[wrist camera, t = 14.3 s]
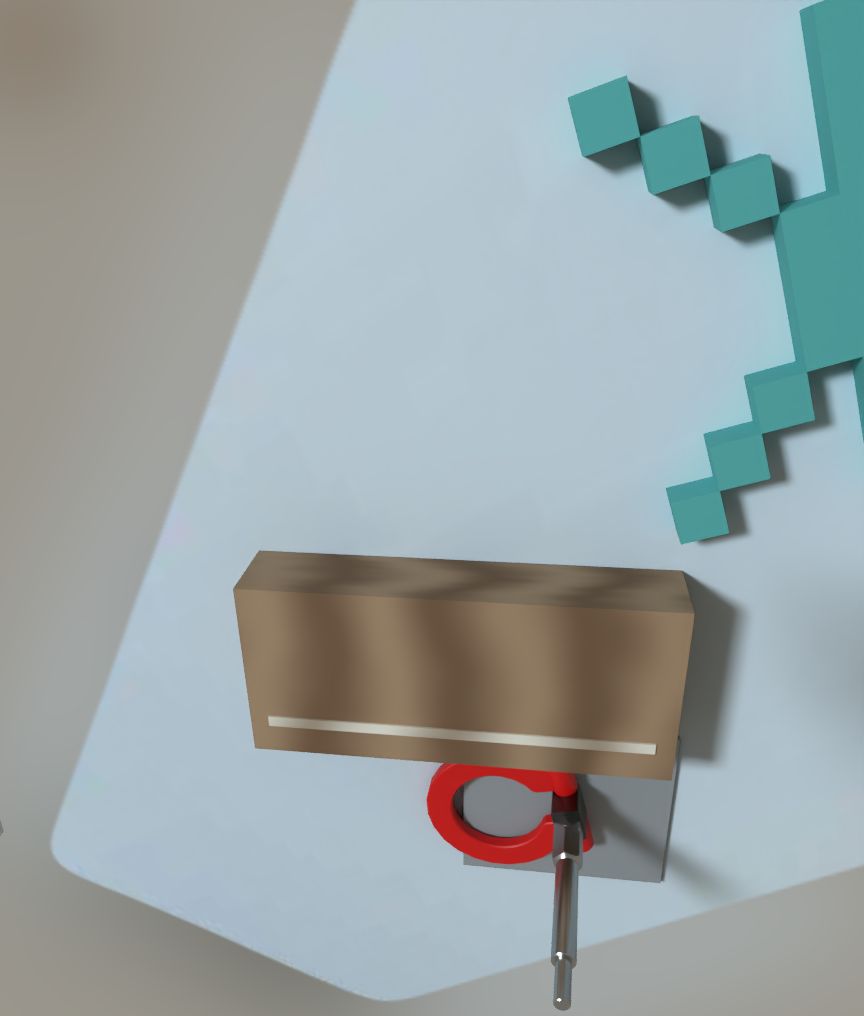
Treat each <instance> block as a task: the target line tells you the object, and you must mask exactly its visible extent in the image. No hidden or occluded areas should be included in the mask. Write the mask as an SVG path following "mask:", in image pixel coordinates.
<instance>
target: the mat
mask: <svg viewBox="0 0 864 1016" xmlns="http://www.w3.org/2000/svg"><path fill="white" fill-rule="evenodd" d="M679 747H680V737H678V739H677V747H676V754H675V761H674V768H673V775H672V781H667V780H655V779H642V778H629V777H616V776H604V775H591V774H578V773H574V774H575V777H576V781H577V782H578V784H579V785H580V789H581V792H582V796H583V799H584V803H585V806H586V810H587V819H588V823H589V826H590V830H591V833H592V837H593V840H594V845H593V847H592V848H591V849H590V850H589V851H587V852H584V853H583V867H582V869H581V870H579V873H578V875H579V876H590V877H600V878H611V879H622V880H632V881H643V882H654V883H660V882H661V875H662V868H663V861H664V854H665V846H666V839H667V832H668V825H669V818H670V811H671V804H672V797H673V790H674V783H675V776H676V769H677V762H678V755H679ZM551 804H552V791H551V792H540V793H536V792H532V791H531V790H530V789H528V788H527V787H526V786H525V785H523V784H521V783H519V782H517V781H515V780H512V779H508V778H504V777H498V776H485V777H478V778H475V779H472V780H470V781H467V782H466V783H465V784H464V822H465V823H466V824H467V825H468V826H470V827H471V828H472V829H474V830H476V831H478V832H480V833H482V834H484V835H488V836H491V837H496V838H514V837H519V836H522V835H525V834H528V833H529V832H531V831H532V830H534V829H535V828H536V827H537V826H538V825H539V824H540V823H541V821H542V819H543V817H544V816H545V815H548V814H551ZM464 865H472V866H483V867H494V868H504V869H515V870H526V871H536V872H547V873H555V872H556V869H555V867H554V864H553V860H552V852H550V853H549V854H547V855H546V856H544V857H543V858H540V859H537V860H534V861H531V862H528V863H519V864H499V863H490V862H487V861H483V860H480V859H476V858H473V857H471V856H469V855H467V854H465V853H464Z"/></svg>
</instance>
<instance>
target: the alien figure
mask: <svg viewBox="0 0 864 1016" xmlns="http://www.w3.org/2000/svg"><path fill="white" fill-rule="evenodd" d="M800 18H801V24H802V31H803V38H804V45H805V51H806V58H807V65H808V71H809V78H810V85H811V92H812V98H813V105H814V112H815V118H816V125H817V132H818V139H819V145H820V152H821V159H822V165H823V172H824V179H825V186H826V191H824V192H821V193H818V194H815V195H812V196H809V197H806V198H803V199H800V200H797V201H793V202H790V203H787V204H784V205H781V206H779V205H778V199H777V193H776V187H775V181H774V176H773V170H772V164H771V158H770V155H765V154H757V155H754V156H751V157H748V158H746V159H743V160H740V161H737V162H734V163H731V164H728V165H725V166H722V167H719V168H716V169H713V170H710V169H709V164H708V159H707V154H706V149H705V144H704V139H703V134H702V129H701V124H700V119H699V116H690V117H688V118H685V119H682V120H679V121H676V122H674V123H671V124H668V125H665V126H662V127H660V128H657V129H654V130H651V131H649V132H646V133H643V134H640V133H639V129H638V124H637V120H636V115H635V111H634V106H633V102H632V97H631V93H630V88H629V84H628V80H627V75H626V76H624V77H621V78H618V79H616V80H613V81H611V82H608V83H605V84H603V85H600V86H597V87H595V88H592V89H589V90H587V91H584V92H581V93H579V94H576V95H574V96H571V97H569V98H568V101H569V105H570V109H571V113H572V117H573V121H574V125H575V129H576V133H577V137H578V141H579V145H580V149H581V153H582V156H583V157H585V156H588V155H591V154H593V153H596V152H599V151H602V150H605V149H607V148H610V147H613V146H616V145H619V144H621V143H624V142H627V141H630V140H632V139H635V138H637V143H638V147H639V152H640V156H641V161H642V165H643V169H644V174H645V178H646V183H647V187H648V191H649V192H650V193H651V194H653V195H655V194H658V193H660V192H663V191H666V190H669V189H672V188H675V187H678V186H681V185H684V184H687V183H690V182H693V181H696V180H699V179H702V178H704V180H705V185H706V190H707V195H708V200H709V205H710V210H711V215H712V220H713V225H714V228H716V229H718V230H719V231H721V232H724V231H727V230H730V229H734V228H737V227H740V226H743V225H746V224H749V223H752V222H755V221H758V220H762V219H765V218H768V217H771V222H772V228H773V234H774V239H775V245H776V251H777V257H778V262H779V268H780V274H781V279H782V285H783V291H784V297H785V302H786V308H787V314H788V319H789V325H790V331H791V336H792V342H793V348H794V354H795V359H796V361H795V362H792V363H788V364H784V365H781V366H777V367H774V368H770V369H766V370H763V371H759V372H755V373H752V374H748V375H745V376H744V379H745V384H746V389H747V394H748V399H749V404H750V409H751V414H752V419H753V421H751V422H747V423H743V424H739V425H736V426H732V427H728V428H724V429H720V430H717V431H713V432H709V433H705V434H704V438H705V443H706V447H707V452H708V456H709V461H710V465H711V469H712V474H713V477H709V478H705V479H701V480H697V481H693V482H689V483H685V484H681V485H677V486H673V487H669V488H666V491H667V495H668V499H669V503H670V507H671V511H672V515H673V518H674V522H675V526H676V530H677V533H678V536H679V539H680V543H681V544H685V543H689V542H694V541H698V540H702V539H706V538H711V537H715V536H719V535H724V534H728V533H729V529H728V525H727V520H726V516H725V511H724V507H723V502H722V498H721V493H720V491H723V490H727V489H731V488H735V487H739V486H743V485H747V484H751V483H755V482H759V481H763V480H767V479H771V478H770V473H769V468H768V462H767V457H766V452H765V447H764V442H763V437H762V434H763V433H767V432H771V431H775V430H779V429H782V428H786V427H790V426H794V425H798V424H802V423H806V422H809V421H813V420H815V416H814V410H813V404H812V398H811V393H810V387H809V381H808V375H807V372H809V371H813V370H816V369H820V368H824V367H827V366H831V365H835V364H838V363H842V362H846V361H849V360H852V367H853V374H854V380H855V387H856V394H857V400H858V407H859V414H860V421H861V427H862V434H863V441H864V0H824V1H822V2H819V3H816V4H814V5H811V6H809V7H807V8H805V9H802V10H800Z"/></svg>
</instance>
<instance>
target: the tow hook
mask: <svg viewBox="0 0 864 1016" xmlns="http://www.w3.org/2000/svg"><path fill="white" fill-rule="evenodd" d="M485 776H498V777H504V778H508V779H512V780H515V781H517V782H519V783H521V784H523V785H525V786H526V787H527V788H528V789H530V790H531V791H532V792H536V793H540V792H551V791H552V804H551V814H548V815H545V816H544V817H543V819H542V821H541V823H540V824H539V825H538V826H537V827H536V828H535V829H534V830H532V831H531V832H529V833H528V834H525V835H522V836H519V837H514V838H496V837H491V836H488V835H484V834H482V833H480V832H478V831H476V830H474V829H472V828H471V827H470V826H468V825H467V824H466V823H465V822H464V821H463V820H462V819H461V818H460V816H459V815H458V814H457V811H456V809H455V807H454V801H453V796H454V794H455V793H456V791H457V790H458V788H459V787H461V786H462V785H463V784H465V783H466V782H467V781H470V780H472V779H475V778H478V777H485ZM427 808H428V814H429V816H430V819H431V821H432V823H433V826H434V827H435V829H436V830H437V831H438V832H439V834H440V835H441V836H442V837H443V839H444V840H446V841H447V842H448V843H450V844H451V845H452V846H453V847H455V848H456V849H457V850H459V851H461V852H463V853H465V854H467V855H469V856H471V857H473V858H476V859H480V860H483V861H487V862H490V863H499V864H519V863H528V862H531V861H534V860H537V859H540V858H543V857H544V856H546V855H547V854H549V853H550V852H552V860H553V864H554V867H555V869H556V872H555V891H554V910H553V929H552V948H551V962H552V964H553V965H554V966H555V978H554V999H553V1004H554V1006H555V1007H556V1008H557V1009H559V1010H568V1009H569V1008H570V1007H571V980H572V969H573V968H574V967H575V966H576V962H577V918H578V873H579V870H581V869H582V867H583V853H584V852H587V851H589V850H590V849H591V848H592V847H593V845H594V840H593V837H592V833H591V830H590V826H589V823H588V819H587V810H586V806H585V803H584V799H583V796H582V792H581V789H580V785H579V784H578V782H577V781H576V777H575V774H574V773H565V772H553V771H540V770H527V769H514V768H502V767H489V766H476V765H464V764H451V763H444V764H443V765H441V766H440V767H439V769H438V770H437V772H436V773H435V775H434V776H433V778H432V780H431V784H430V788H429V792H428V796H427Z"/></svg>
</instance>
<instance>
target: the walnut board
mask: <svg viewBox="0 0 864 1016" xmlns="http://www.w3.org/2000/svg"><path fill="white" fill-rule="evenodd" d="M233 592H234V599H235V606H236V613H237V621H238V628H239V635H240V642H241V649H242V657H243V664H244V671H245V678H246V686H247V693H248V700H249V707H250V714H251V722H252V729H253V736H254V743H255V748H260V749H273V750H285V751H298V752H311V753H323V754H336V755H349V756H362V757H374V758H387V759H400V760H413V761H425V762H438V763H451V764H464V765H476V766H489V767H502V768H514V769H527V770H540V771H553V772H565V773H578V774H591V775H604V776H616V777H629V778H642V779H655V780H667V781H672V775H673V768H674V761H675V754H676V747H677V739H678V732H679V725H680V718H681V711H682V703H683V696H684V689H685V682H686V675H687V668H688V660H689V653H690V646H691V639H692V632H693V625H694V617H695V612H694V609H693V605H692V602H691V598H690V595H689V592H688V588H687V585H686V582H685V578H684V575H683V571H674V570H653V569H632V568H611V567H590V566H569V565H548V564H527V563H506V562H485V561H464V560H442V559H421V558H400V557H379V556H358V555H337V554H316V553H295V552H274V551H259V552H258V553H257V555H256V556H255V558H254V559H253V560H252V562H251V563H250V565H249V566H248V568H247V569H246V571H245V572H244V574H243V575H242V577H241V578H240V580H239V581H238V582H237V584H236V585H235V587H234V588H233Z"/></svg>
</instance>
